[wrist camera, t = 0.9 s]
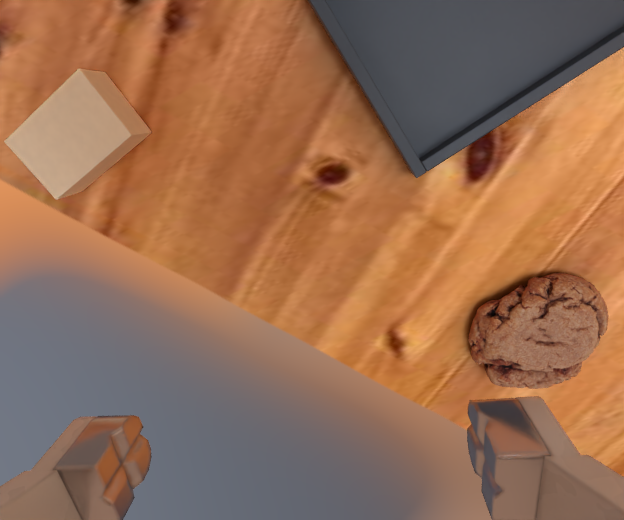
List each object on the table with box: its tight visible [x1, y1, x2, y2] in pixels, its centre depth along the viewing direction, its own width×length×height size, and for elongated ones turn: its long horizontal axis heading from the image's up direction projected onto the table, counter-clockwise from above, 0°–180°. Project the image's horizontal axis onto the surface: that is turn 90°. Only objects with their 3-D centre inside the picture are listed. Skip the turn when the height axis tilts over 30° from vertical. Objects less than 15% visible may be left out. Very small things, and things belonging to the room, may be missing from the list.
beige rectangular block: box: [4, 68, 152, 200], centre depth 28 cm, size 5×8×3 cm, turn 125°
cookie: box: [468, 273, 608, 389], centre depth 31 cm, size 10×11×3 cm
